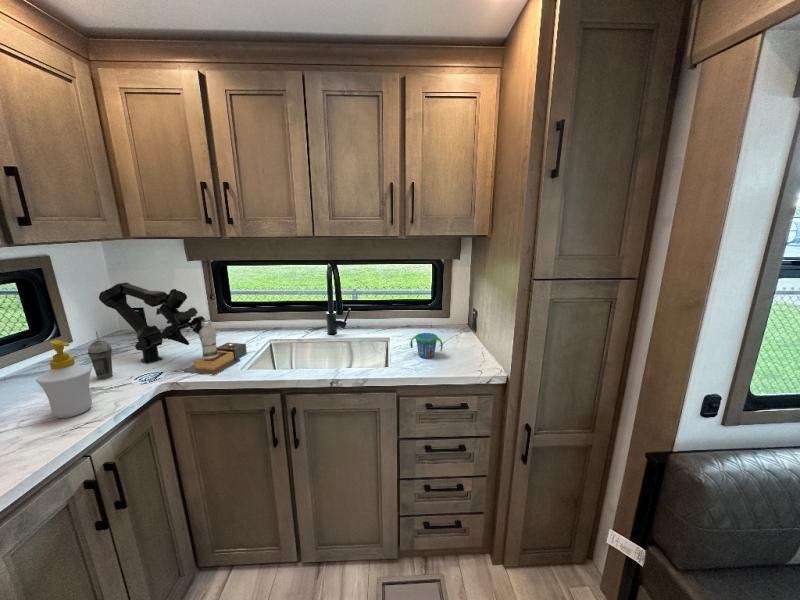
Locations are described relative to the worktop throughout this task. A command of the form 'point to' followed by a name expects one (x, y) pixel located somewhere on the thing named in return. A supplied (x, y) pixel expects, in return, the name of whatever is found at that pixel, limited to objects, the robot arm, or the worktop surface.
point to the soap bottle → (66, 384)
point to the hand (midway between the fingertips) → (197, 340)
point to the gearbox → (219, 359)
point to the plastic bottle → (208, 341)
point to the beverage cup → (101, 358)
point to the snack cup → (426, 344)
